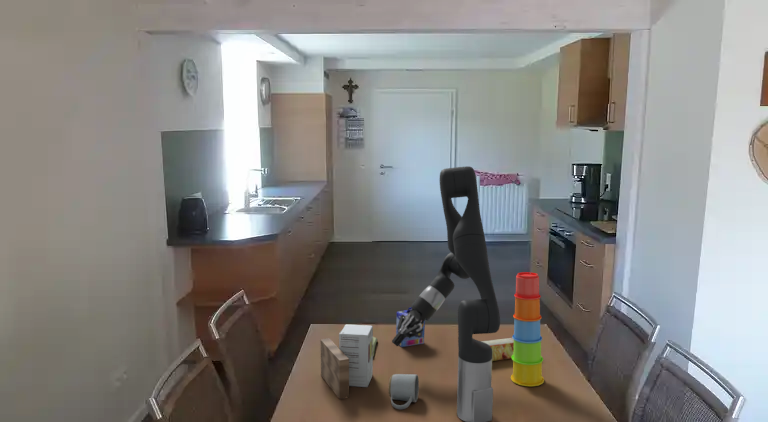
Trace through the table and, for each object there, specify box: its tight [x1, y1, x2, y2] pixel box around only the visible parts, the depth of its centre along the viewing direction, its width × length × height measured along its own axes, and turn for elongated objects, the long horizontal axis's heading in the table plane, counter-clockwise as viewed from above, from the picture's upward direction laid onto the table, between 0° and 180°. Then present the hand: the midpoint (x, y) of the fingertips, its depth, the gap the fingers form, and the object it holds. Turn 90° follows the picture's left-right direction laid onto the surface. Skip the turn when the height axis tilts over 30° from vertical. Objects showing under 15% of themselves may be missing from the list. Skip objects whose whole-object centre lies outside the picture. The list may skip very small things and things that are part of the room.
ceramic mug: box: [387, 373, 420, 410], centre depth 164 cm, size 11×8×8 cm
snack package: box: [481, 337, 514, 362], centre depth 197 cm, size 21×7×7 cm, turn 109°
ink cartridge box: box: [395, 307, 426, 348], centre depth 209 cm, size 10×6×14 cm, turn 115°
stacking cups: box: [510, 271, 545, 387], centre depth 176 cm, size 10×10×35 cm
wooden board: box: [319, 338, 350, 400], centre depth 174 cm, size 18×3×12 cm, turn 24°
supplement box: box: [338, 324, 374, 388], centre depth 177 cm, size 10×9×17 cm
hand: (394, 343), depth 181 cm, fingers closed
